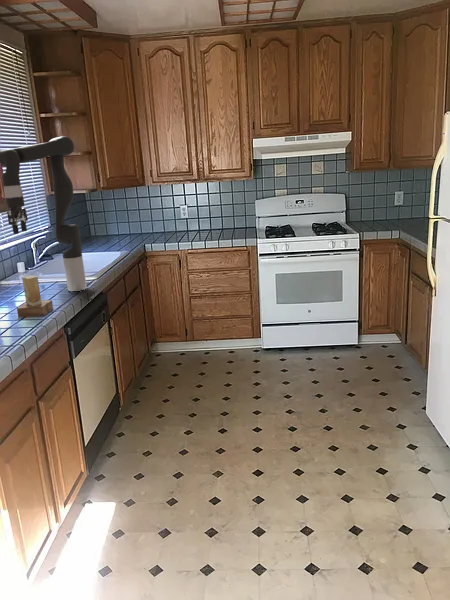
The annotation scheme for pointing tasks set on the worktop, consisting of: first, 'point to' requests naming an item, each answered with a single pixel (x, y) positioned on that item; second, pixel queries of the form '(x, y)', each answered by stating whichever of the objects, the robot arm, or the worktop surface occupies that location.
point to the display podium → (35, 309)
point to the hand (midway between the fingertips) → (20, 232)
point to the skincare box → (32, 290)
